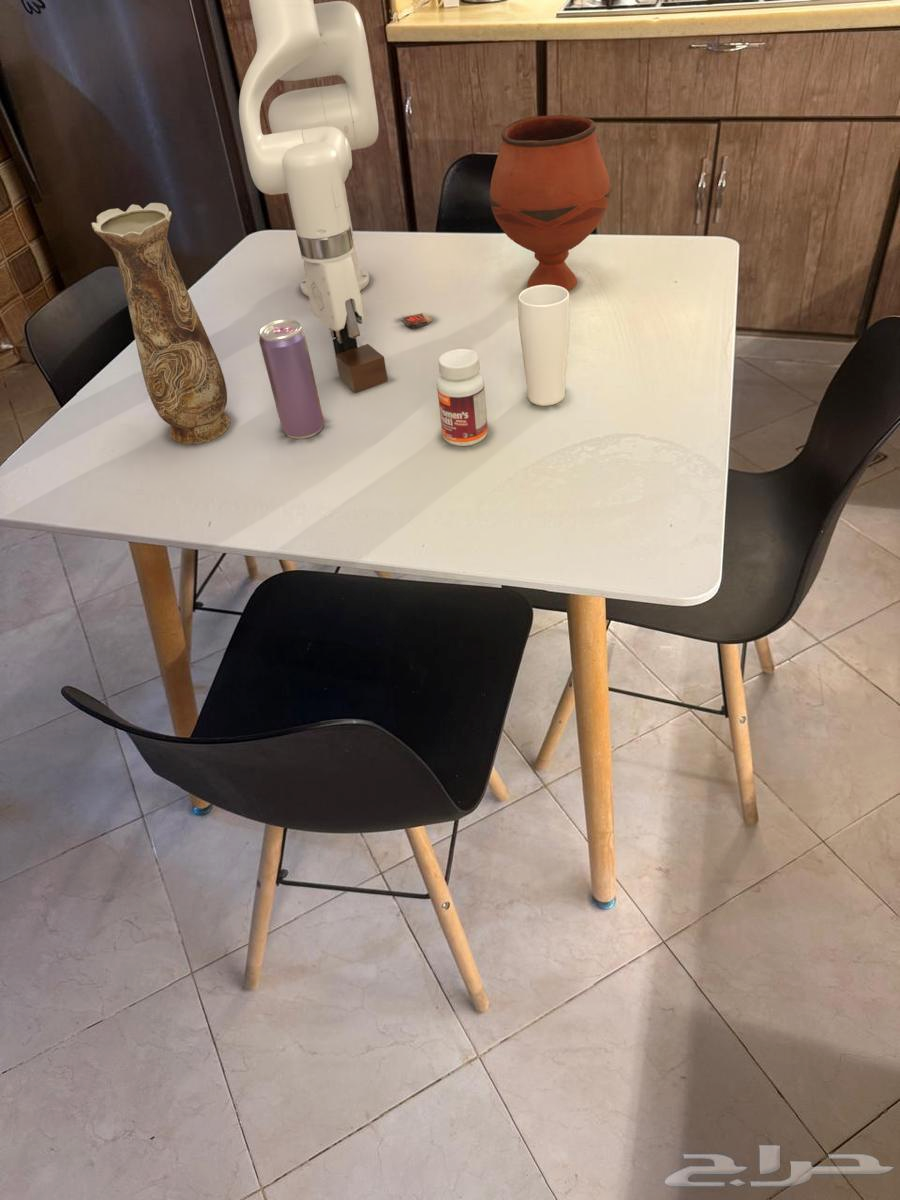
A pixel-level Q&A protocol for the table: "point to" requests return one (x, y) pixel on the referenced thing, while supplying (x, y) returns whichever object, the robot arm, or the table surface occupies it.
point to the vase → (166, 325)
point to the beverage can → (291, 378)
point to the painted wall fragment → (416, 320)
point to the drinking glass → (544, 341)
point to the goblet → (550, 190)
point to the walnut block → (361, 368)
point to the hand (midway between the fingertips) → (348, 361)
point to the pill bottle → (461, 398)
